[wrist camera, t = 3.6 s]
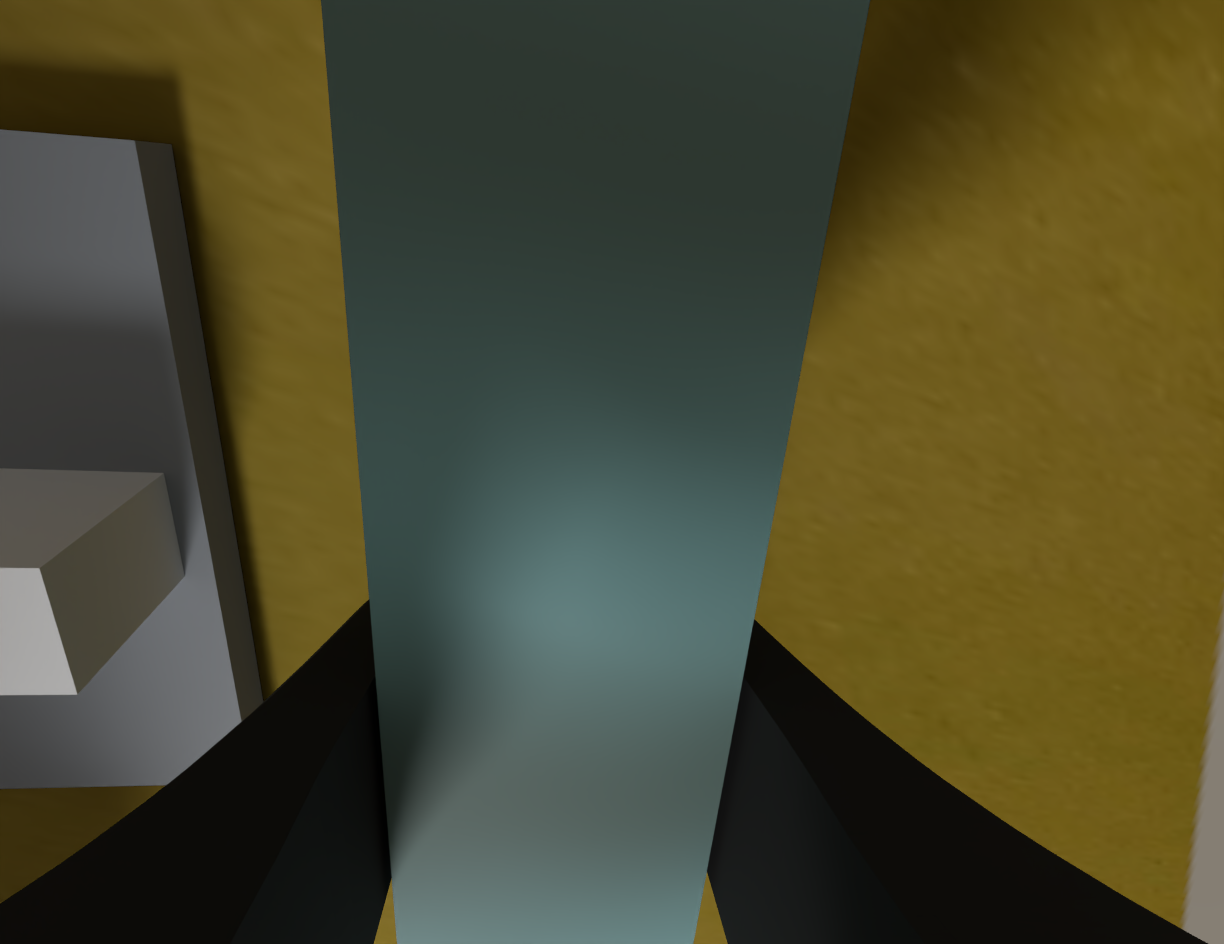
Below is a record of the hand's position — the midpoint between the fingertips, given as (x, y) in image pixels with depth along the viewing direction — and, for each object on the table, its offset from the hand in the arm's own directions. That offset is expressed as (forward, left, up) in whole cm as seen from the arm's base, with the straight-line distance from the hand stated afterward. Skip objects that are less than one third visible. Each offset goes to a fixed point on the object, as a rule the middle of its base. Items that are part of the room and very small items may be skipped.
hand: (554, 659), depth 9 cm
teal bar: (0, 0, -2) cm, 2 cm away
